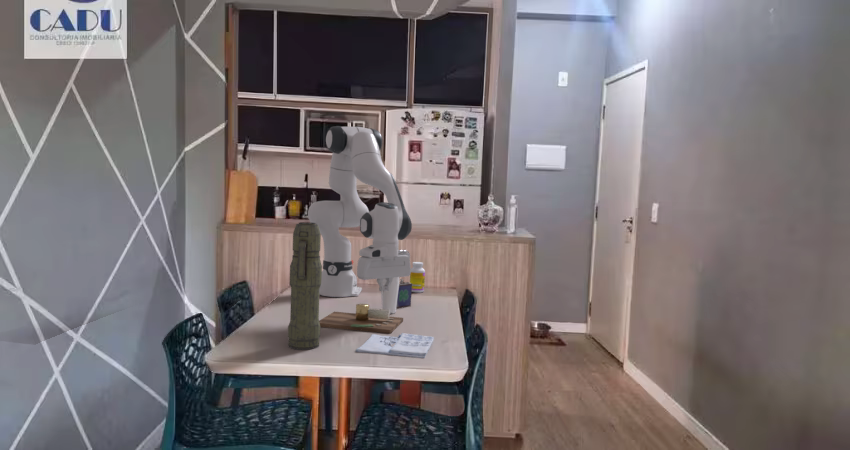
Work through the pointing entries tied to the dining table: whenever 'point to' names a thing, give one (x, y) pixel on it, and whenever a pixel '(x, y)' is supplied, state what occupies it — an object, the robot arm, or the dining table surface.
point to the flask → (404, 294)
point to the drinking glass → (390, 295)
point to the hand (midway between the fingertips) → (384, 291)
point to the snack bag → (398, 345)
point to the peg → (370, 313)
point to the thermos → (305, 287)
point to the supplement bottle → (417, 277)
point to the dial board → (360, 323)
